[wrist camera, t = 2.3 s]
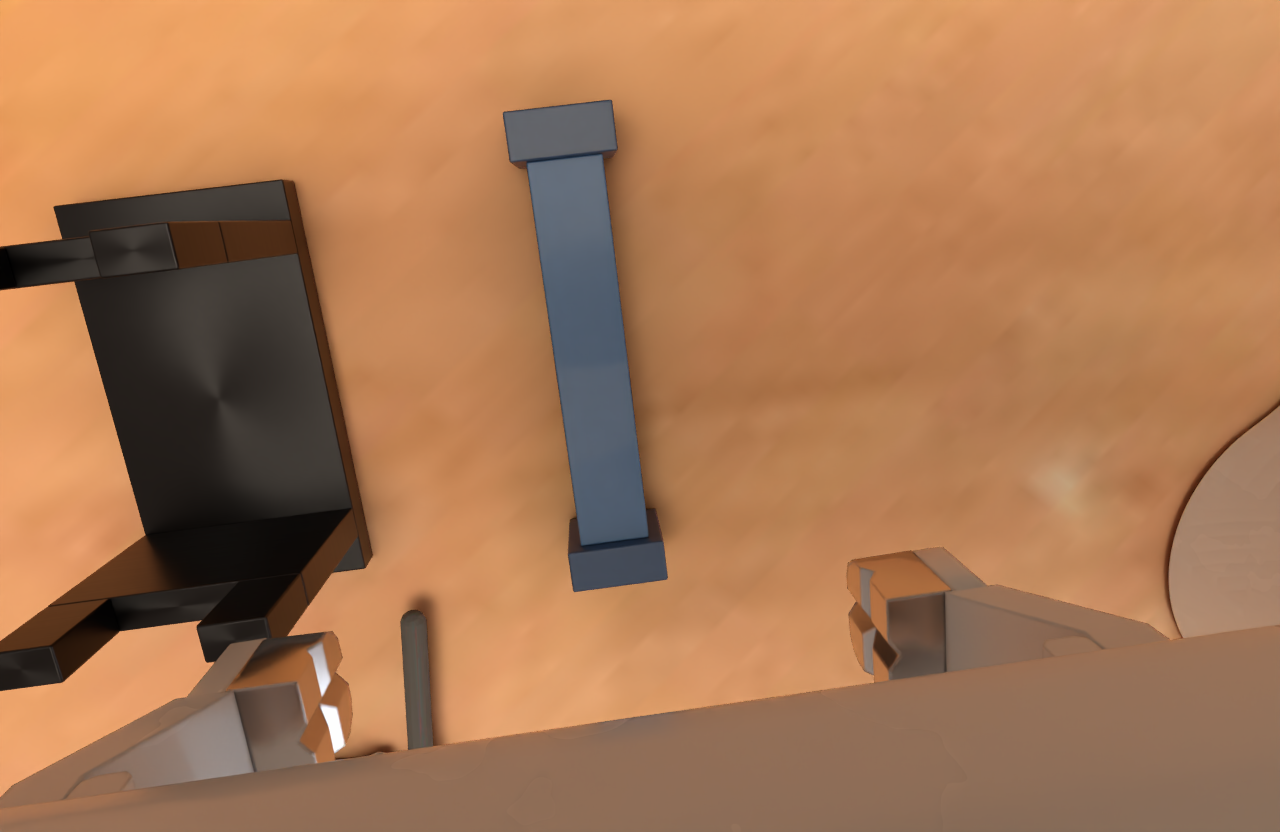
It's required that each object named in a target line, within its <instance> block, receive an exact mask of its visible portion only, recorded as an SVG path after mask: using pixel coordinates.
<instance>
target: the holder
mask: <svg viewBox="0 0 1280 832" xmlns="http://www.w3.org/2000/svg"><path fill="white" fill-rule="evenodd" d="M54 211H55V214H56V218H57V221H58V225H59V228H60V232H61V236H62V239H61V240H52V241H44V242H35V243H27V244H18V245H10V246H1V247H0V290H7V289H15V288H23V287H32V286H40V285H48V284H57V283H65V282H75V285H76V289H77V293H78V296H79V300H80V303H81V307H82V310H83V314H84V317H85V321H86V325H87V328H88V332H89V335H90V339H91V342H92V346H93V350H94V353H95V357H96V360H97V364H98V367H99V371H100V374H101V378H102V382H103V385H104V389H105V392H106V396H107V399H108V403H109V406H110V410H111V414H112V417H113V421H114V424H115V428H116V431H117V435H118V439H119V442H120V446H121V449H122V453H123V456H124V460H125V463H126V467H127V471H128V474H129V478H130V481H131V485H132V488H133V492H134V495H135V499H136V503H137V506H138V510H139V513H140V517H141V520H142V524H143V528H144V531H145V536H144V537H142V538H141V539H139V540H138V541H137V542H135V543H134V544H133V545H131V546H130V547H128V548H127V549H126V550H124V551H123V552H122V553H120V554H119V555H117V556H116V557H115V558H113V559H112V560H111V561H109V562H108V563H107V564H105V565H104V566H102V567H101V568H100V569H98V570H97V571H96V572H94V573H93V574H91V575H90V576H89V577H87V578H86V579H85V580H83V581H82V582H80V583H79V584H78V585H76V586H75V587H74V588H72V589H71V590H69V591H68V592H67V593H65V594H64V595H63V596H61V597H60V598H58V599H57V600H56V601H54V602H53V603H52V604H50V605H49V606H48V607H47V608H45V609H44V610H42V611H41V612H40V613H38V614H37V615H35V616H34V617H33V618H31V619H30V620H29V621H27V622H26V623H24V624H23V625H22V626H20V627H19V628H18V629H16V630H15V631H14V632H12V633H11V634H9V635H8V636H7V637H5V638H4V639H3V640H1V641H0V691H4V690H11V689H19V688H26V687H33V686H41V685H48V684H55V683H62V682H64V681H65V680H66V679H67V678H68V677H69V676H71V675H72V674H73V673H74V672H75V671H76V670H77V669H78V668H79V667H81V666H82V665H83V664H84V663H85V662H86V661H87V660H88V659H90V658H91V657H92V656H93V655H94V654H95V653H96V652H97V651H98V650H100V649H101V648H102V647H103V646H104V645H105V644H106V643H107V642H109V641H110V640H111V639H112V638H113V637H114V636H115V635H116V634H117V633H119V631H126V630H133V629H140V628H148V627H155V626H163V625H170V624H178V623H185V622H192V621H200V620H202V621H201V622H200V623H199V624H198V625H197V632H198V635H199V639H200V643H201V646H202V650H203V654H204V657H205V661H206V662H216V661H217V659H218V658H219V657H220V656H221V655H222V653H223V652H224V651H225V650H226V649H227V647H228V646H229V645H230V644H232V643H238V642H244V641H250V640H256V639H262V638H266V639H270V638H279V637H287V635H288V634H289V632H290V631H291V630H292V628H293V627H294V625H295V624H296V622H297V621H298V620H299V618H300V617H301V615H302V614H303V613H304V611H305V610H306V608H307V607H308V606H309V605H310V603H311V602H312V600H313V599H314V598H315V596H316V595H317V593H318V592H319V590H320V589H321V588H322V586H323V585H324V583H325V582H326V581H327V579H328V578H329V576H330V575H331V574H332V573H334V572H342V571H349V570H357V569H364V568H366V566H367V565H368V563H369V561H370V560H371V558H372V552H371V547H370V542H369V537H368V533H367V528H366V523H365V518H364V514H363V509H362V504H361V499H360V495H359V490H358V485H357V480H356V476H355V471H354V466H353V461H352V456H351V452H350V447H349V442H348V437H347V433H346V428H345V423H344V418H343V414H342V409H341V404H340V399H339V395H338V390H337V385H336V380H335V376H334V371H333V366H332V361H331V357H330V352H329V347H328V342H327V338H326V333H325V328H324V323H323V319H322V314H321V309H320V304H319V300H318V295H317V290H316V285H315V281H314V276H313V271H312V266H311V262H310V257H309V252H308V247H307V243H306V238H305V233H304V228H303V224H302V219H301V214H300V209H299V204H298V200H297V195H296V190H295V185H294V182H293V181H289V180H274V181H265V182H256V183H248V184H239V185H231V186H222V187H213V188H205V189H196V190H188V191H179V192H170V193H162V194H153V195H145V196H136V197H127V198H119V199H110V200H102V201H93V202H85V203H76V204H67V205H59V206H54Z"/></svg>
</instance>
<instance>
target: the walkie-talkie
mask: <svg viewBox="0 0 1280 832" xmlns="http://www.w3.org/2000/svg"><path fill="white" fill-rule="evenodd" d="M401 638H402V654H403V671H404V687H405V703H406V720H407V736H408V750H411V749H418V748H425V747H432V746H433V732H432V713H431V694H430V675H429V657H428V638H427V620H426V617H425V616H424V615H423V613H422V612H420V611H418V610H410V611H408V612H407V613H405V614H404V615H403V617H402V619H401ZM383 753H385V752H376V753H374V754H372V755H377V754H383Z"/></svg>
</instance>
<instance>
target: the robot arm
mask: <svg viewBox="0 0 1280 832" xmlns="http://www.w3.org/2000/svg"><path fill="white" fill-rule="evenodd" d="M847 589H848V590H849V591H850V593H851V594H852V596H853V597H854V598H855V600H856V603H855V604H854V606H853V607H852V609H851V611H850V612H849V626H850V635H851V640H852V644H853V649H854V652H855V655H856V657H857V660H858V662H859V664H860V665H861V667H862V668H863V670H864V671H865V672H867V673H870V674H872V675H874V683H869V684H862V685H855V686H848V687H841V688H834V689H827V690H820V691H813V692H806V693H799V694H792V695H785V696H778V697H771V698H765V699H758V700H751V701H744V702H737V703H730V704H723V705H716V706H709V707H702V708H695V709H688V710H681V711H674V712H668V713H661V714H654V715H647V716H640V717H633V718H626V719H619V720H612V721H605V722H598V723H591V724H584V725H577V726H571V727H564V728H557V729H550V730H543V731H536V732H529V733H522V734H515V735H508V736H501V737H494V738H487V739H480V740H474V741H467V742H460V743H453V744H446V745H439V746H432V747H425V748H418V749H411V750H404V751H397V752H390V753H383V754H377V755H370V756H363V757H356V758H349V759H342V760H336V758H335V753H336V752H337V751H339V750H340V749H341V748H343V747H344V746H345V745H346V743H347V740H348V738H349V735H350V732H351V724H352V715H353V713H352V699H351V694H350V689H349V684H348V683H347V682H346V681H345V680H344V679H343V678H342V677H340V676H339V675H338V674H337V673H336V670H337V668H338V666H339V664H340V662H341V660H342V658H343V657H342V653H341V649H340V645H339V641H338V638H337V636H336V635H335V634H334V633H333V631H329V632H321V633H312V634H304V635H295V636H287V637H279V638H270V639H266V638H262V639H256V640H250V641H244V642H238V643H232V644H230V645H229V646H228V647H227V649H226V650H225V651H224V652H223V653H222V655H221V656H220V657H219V658H218V659H217V661H216V662H215V663H214V664H213V666H212V667H211V668H210V669H209V670H208V672H207V673H206V674H205V675H204V676H203V678H202V679H201V680H200V681H199V683H198V684H197V685H196V686H195V687H194V689H193V690H192V691H191V692H190V694H189V695H188V696H187V697H186V698H179V699H175V700H173V701H171V702H169V703H167V704H165V705H163V706H161V707H159V708H158V709H156V710H154V711H152V712H150V713H148V714H146V715H144V716H143V717H141V718H139V719H137V720H135V721H133V722H131V723H129V724H127V725H126V726H124V727H122V728H120V729H118V730H116V731H114V732H112V733H110V734H109V735H107V736H105V737H103V738H101V739H99V740H97V741H95V742H93V743H92V744H90V745H88V746H86V747H84V748H82V749H80V750H78V751H76V752H75V753H73V754H71V755H69V756H67V757H65V758H63V759H61V760H59V761H58V762H56V763H54V764H52V765H50V766H48V767H46V768H44V769H42V770H41V771H39V772H37V773H35V774H33V775H31V776H29V777H27V778H25V779H24V780H22V781H20V782H18V783H16V784H14V785H12V786H11V787H10V788H9V789H8V790H7V791H6V792H5V793H4V794H3V795H2V796H1V797H0V832H1280V405H1279V406H1278V407H1277V408H1276V409H1275V410H1274V411H1273V412H1271V413H1270V414H1269V415H1268V416H1267V417H1265V418H1264V419H1263V420H1261V421H1260V422H1259V423H1257V424H1256V425H1255V426H1253V427H1252V428H1251V429H1250V430H1248V431H1247V432H1246V433H1244V434H1243V435H1242V436H1241V437H1240V438H1238V439H1237V440H1236V441H1235V442H1234V443H1233V444H1232V445H1231V446H1230V447H1229V448H1228V449H1227V450H1226V451H1225V452H1224V453H1223V454H1222V455H1221V456H1220V457H1219V458H1218V459H1217V460H1216V461H1215V463H1214V464H1213V465H1212V466H1211V468H1210V469H1209V470H1208V471H1207V473H1206V474H1205V475H1204V477H1203V478H1202V480H1201V481H1200V483H1199V484H1198V486H1197V487H1196V489H1195V491H1194V492H1193V494H1192V496H1191V498H1190V500H1189V501H1188V503H1187V505H1186V507H1185V510H1184V512H1183V514H1182V516H1181V519H1180V522H1179V524H1178V527H1177V530H1176V533H1175V537H1174V540H1173V545H1172V549H1171V555H1170V561H1169V595H1170V601H1171V607H1172V611H1173V615H1174V618H1175V621H1176V624H1177V626H1178V628H1179V631H1180V633H1181V635H1182V637H1183V638H1181V639H1174V640H1170V639H1169V638H1167V637H1166V636H1164V635H1163V634H1162V633H1160V632H1159V631H1157V630H1156V629H1155V628H1153V627H1152V626H1150V625H1149V624H1147V623H1143V622H1139V621H1135V620H1131V619H1127V618H1124V617H1120V616H1116V615H1112V614H1108V613H1104V612H1101V611H1097V610H1093V609H1089V608H1085V607H1081V606H1077V605H1074V604H1070V603H1066V602H1062V601H1058V600H1054V599H1050V598H1047V597H1043V596H1039V595H1035V594H1031V593H1027V592H1023V591H1020V590H1016V589H1012V588H1008V587H1004V586H1000V585H991V586H987V585H986V584H985V583H984V582H983V581H981V580H980V579H979V578H978V577H977V576H976V575H975V574H973V573H972V572H971V571H970V570H969V569H968V568H966V567H965V566H964V565H963V564H962V563H961V562H960V561H958V560H957V559H956V558H955V557H954V556H953V555H952V554H950V553H949V552H948V551H947V550H946V549H945V548H944V547H933V548H927V549H921V550H916V551H911V550H910V551H904V552H898V553H891V554H885V555H879V556H873V557H866V558H860V559H854V560H851V561H850V562H848V565H847Z"/></svg>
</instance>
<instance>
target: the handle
mask: <svg viewBox="0 0 1280 832" xmlns="http://www.w3.org/2000/svg"><path fill="white" fill-rule="evenodd" d="M503 119H504V126H505V133H506V139H507V146H508V153H509V160H510V162H511V163H512V164H514V165H515V166H516V167H518V168H527V172H528V179H529V186H530V193H531V200H532V207H533V214H534V221H535V228H536V235H537V242H538V249H539V256H540V263H541V270H542V277H543V284H544V291H545V298H546V305H547V312H548V319H549V326H550V333H551V340H552V347H553V354H554V361H555V368H556V375H557V382H558V389H559V396H560V403H561V410H562V417H563V424H564V430H565V437H566V444H567V451H568V458H569V465H570V472H571V479H572V486H573V493H574V500H575V507H576V514H577V519H572V520H570V523H569V544H568V559H569V565H570V572H571V579H572V586H573V591H574V592H579V591H586V590H594V589H601V588H608V587H616V586H623V585H630V584H638V583H645V582H652V581H660V580H666V579H667V578H668V576H667V567H666V558H665V550H664V542H663V538H662V533H661V529H660V525H659V521H658V517H657V513H656V509H647V510H646V507H645V499H644V490H643V482H642V474H641V466H640V457H639V449H638V441H637V433H636V424H635V416H634V408H633V400H632V391H631V383H630V375H629V367H628V358H627V350H626V342H625V334H624V325H623V317H622V309H621V301H620V292H619V284H618V276H617V268H616V259H615V251H614V243H613V235H612V226H611V218H610V210H609V202H608V193H607V185H606V177H605V169H604V160H603V159H605V158H613V157H614V155H615V153H616V151H617V149H618V147H617V139H616V130H615V122H614V113H613V104H612V100H603V101H594V102H586V103H577V104H568V105H559V106H551V107H542V108H533V109H525V110H516V111H507V112H503Z"/></svg>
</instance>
